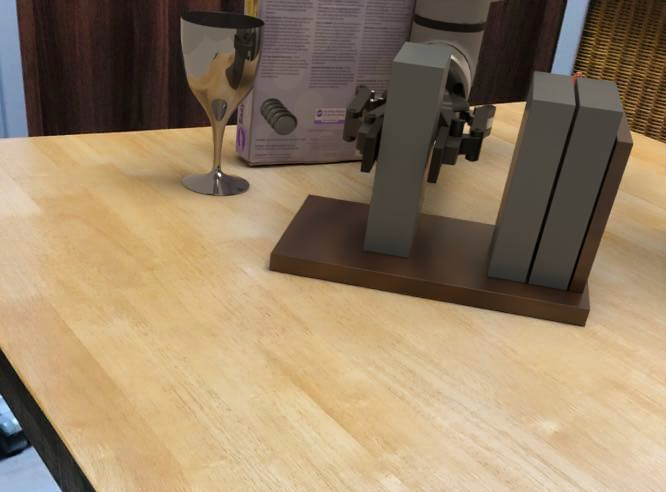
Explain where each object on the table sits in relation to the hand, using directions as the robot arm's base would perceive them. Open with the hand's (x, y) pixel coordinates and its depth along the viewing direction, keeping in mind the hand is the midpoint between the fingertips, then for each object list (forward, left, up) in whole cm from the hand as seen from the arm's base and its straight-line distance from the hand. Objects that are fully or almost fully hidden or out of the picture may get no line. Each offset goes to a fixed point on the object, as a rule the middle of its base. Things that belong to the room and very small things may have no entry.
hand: (400, 160), depth 69 cm
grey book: (0, -5, -8) cm, 10 cm away
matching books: (-12, -5, -8) cm, 16 cm away
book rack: (-4, -5, -10) cm, 12 cm away
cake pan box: (+12, -30, -10) cm, 34 cm away
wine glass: (+20, -16, -10) cm, 28 cm away
